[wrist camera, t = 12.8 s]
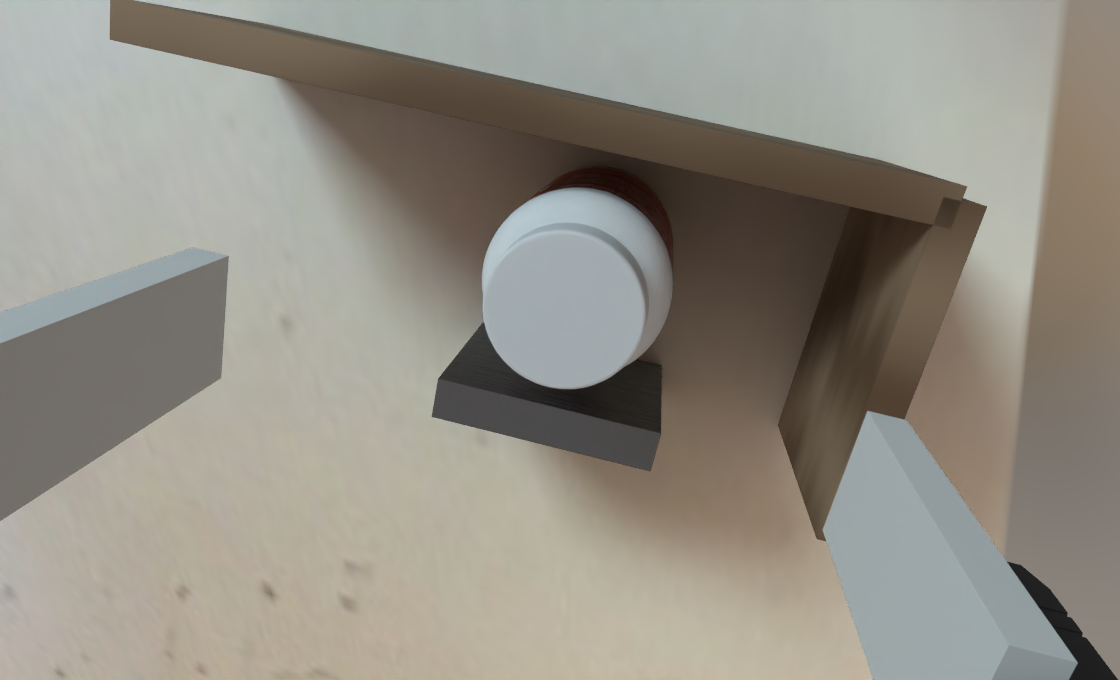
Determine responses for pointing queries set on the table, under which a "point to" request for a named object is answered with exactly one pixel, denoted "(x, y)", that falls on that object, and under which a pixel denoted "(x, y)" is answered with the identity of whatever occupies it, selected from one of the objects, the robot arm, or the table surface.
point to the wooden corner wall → (859, 182)
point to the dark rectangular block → (555, 406)
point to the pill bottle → (579, 279)
